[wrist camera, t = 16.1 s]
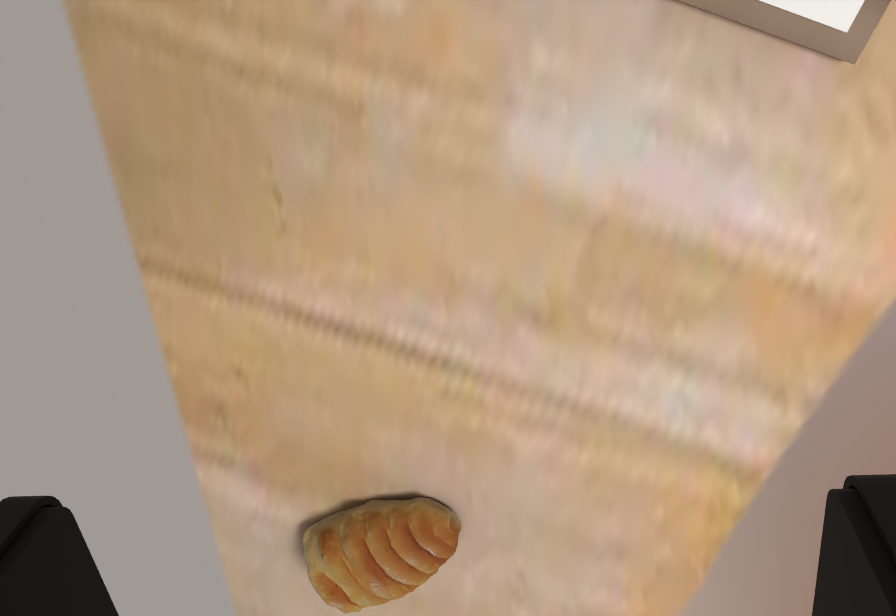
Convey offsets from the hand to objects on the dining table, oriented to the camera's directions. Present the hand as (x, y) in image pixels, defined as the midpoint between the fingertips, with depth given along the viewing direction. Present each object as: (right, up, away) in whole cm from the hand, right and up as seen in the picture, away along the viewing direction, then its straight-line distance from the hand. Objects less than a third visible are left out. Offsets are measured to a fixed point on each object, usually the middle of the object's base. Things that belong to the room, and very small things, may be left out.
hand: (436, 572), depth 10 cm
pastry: (-4, -10, +39) cm, 41 cm away
